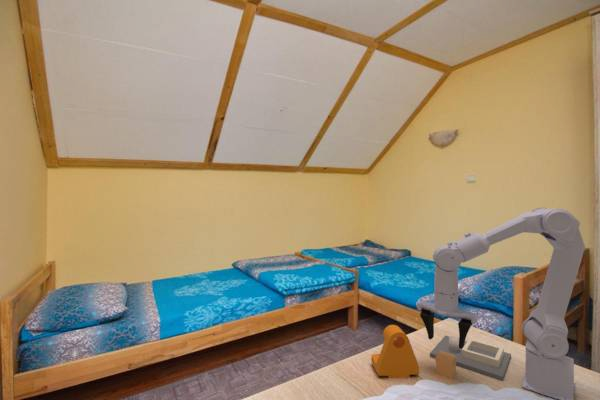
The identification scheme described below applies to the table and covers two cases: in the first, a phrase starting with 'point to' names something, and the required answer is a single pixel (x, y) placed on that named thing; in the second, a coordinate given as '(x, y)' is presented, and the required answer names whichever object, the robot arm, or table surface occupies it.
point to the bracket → (395, 355)
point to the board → (476, 356)
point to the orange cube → (446, 364)
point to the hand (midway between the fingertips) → (445, 342)
